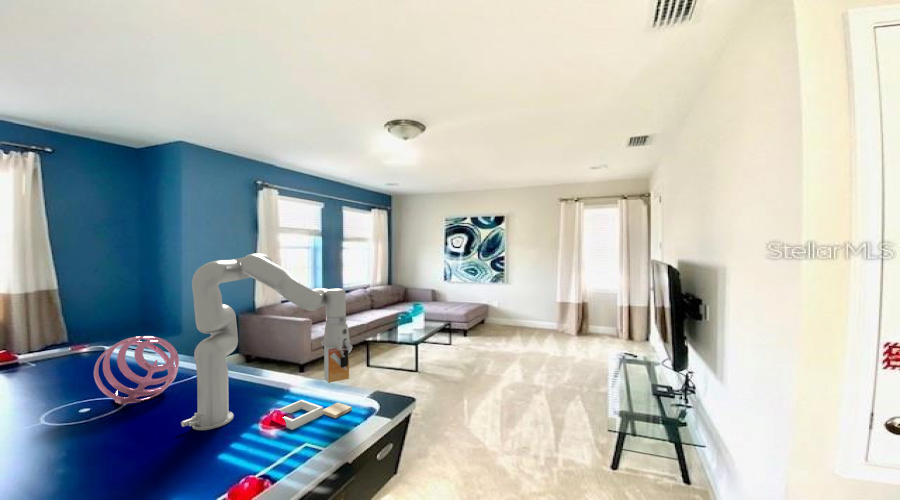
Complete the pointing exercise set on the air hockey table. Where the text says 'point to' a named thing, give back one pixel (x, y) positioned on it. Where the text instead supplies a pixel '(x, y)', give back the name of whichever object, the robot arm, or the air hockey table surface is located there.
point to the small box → (334, 365)
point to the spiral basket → (142, 363)
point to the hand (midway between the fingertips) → (336, 364)
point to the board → (336, 410)
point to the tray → (312, 414)
